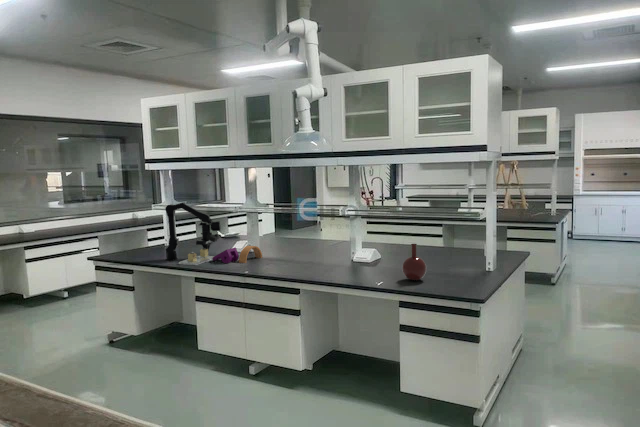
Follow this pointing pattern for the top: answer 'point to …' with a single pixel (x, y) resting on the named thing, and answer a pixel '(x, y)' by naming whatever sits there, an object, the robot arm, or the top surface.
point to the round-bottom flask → (414, 266)
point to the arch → (246, 250)
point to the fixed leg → (192, 256)
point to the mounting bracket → (227, 255)
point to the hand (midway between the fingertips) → (207, 252)
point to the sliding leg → (203, 252)
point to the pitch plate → (198, 261)
